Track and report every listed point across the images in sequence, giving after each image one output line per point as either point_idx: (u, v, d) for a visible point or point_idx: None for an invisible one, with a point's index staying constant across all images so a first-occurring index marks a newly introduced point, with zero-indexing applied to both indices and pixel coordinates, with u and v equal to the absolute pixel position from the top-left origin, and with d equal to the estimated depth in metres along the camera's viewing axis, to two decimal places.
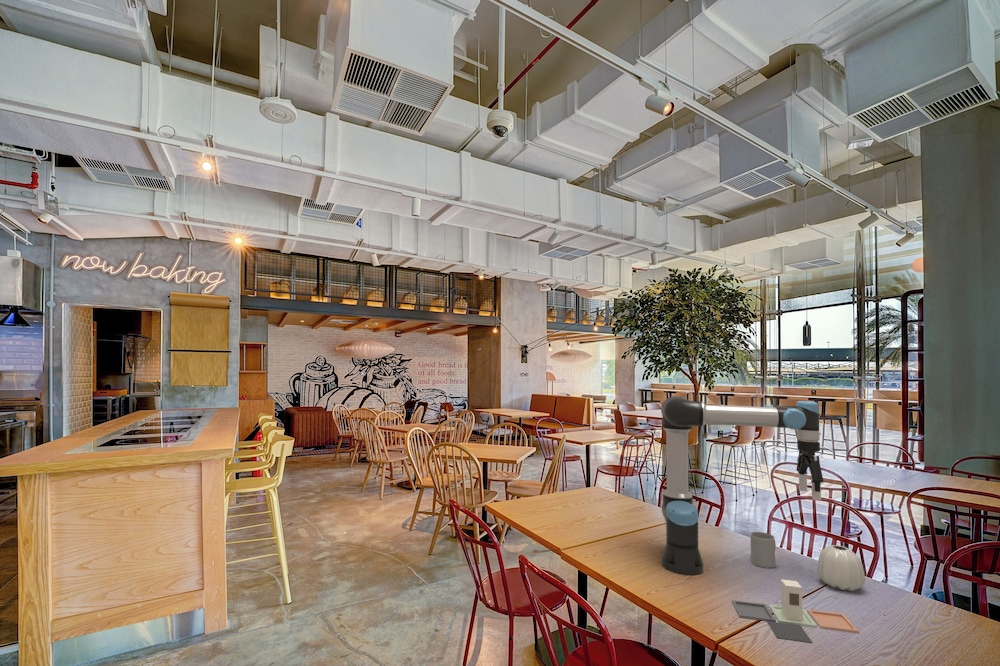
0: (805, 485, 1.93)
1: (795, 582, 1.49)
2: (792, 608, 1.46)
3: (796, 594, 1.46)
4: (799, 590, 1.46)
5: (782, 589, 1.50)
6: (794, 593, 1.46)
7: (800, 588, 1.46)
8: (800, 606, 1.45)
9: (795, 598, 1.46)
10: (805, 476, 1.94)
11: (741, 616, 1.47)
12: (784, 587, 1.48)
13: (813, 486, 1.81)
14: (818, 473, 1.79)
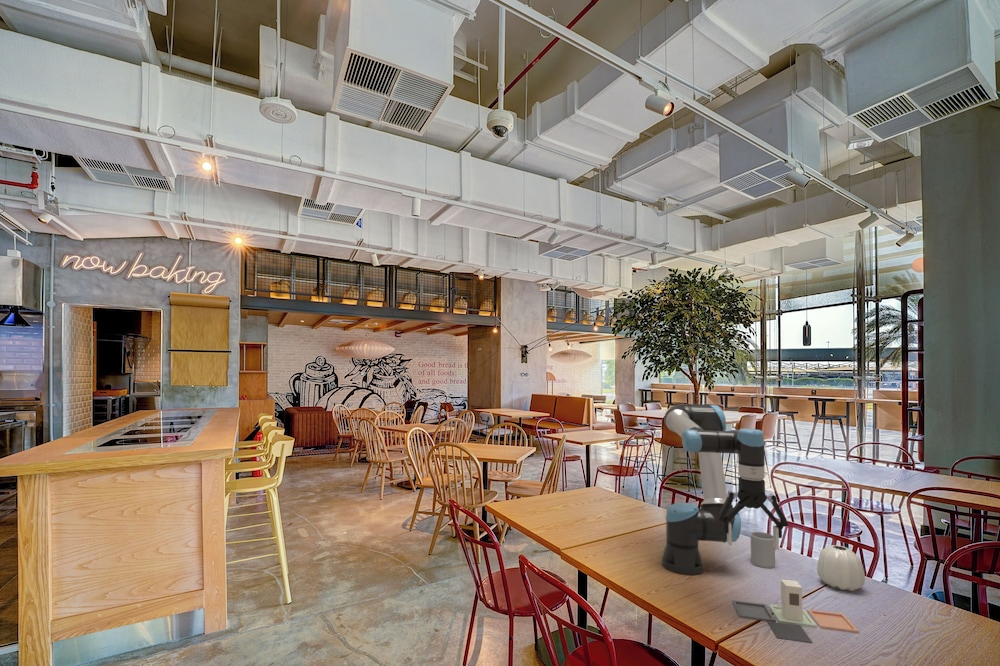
0: (775, 541, 1.50)
1: (795, 582, 1.49)
2: (792, 608, 1.46)
3: (796, 594, 1.46)
4: (799, 590, 1.46)
5: (782, 589, 1.50)
6: (794, 593, 1.46)
7: (800, 588, 1.46)
8: (800, 606, 1.45)
9: (795, 598, 1.46)
10: (775, 529, 1.50)
11: (741, 616, 1.47)
12: (784, 587, 1.48)
13: None
14: (721, 510, 1.54)
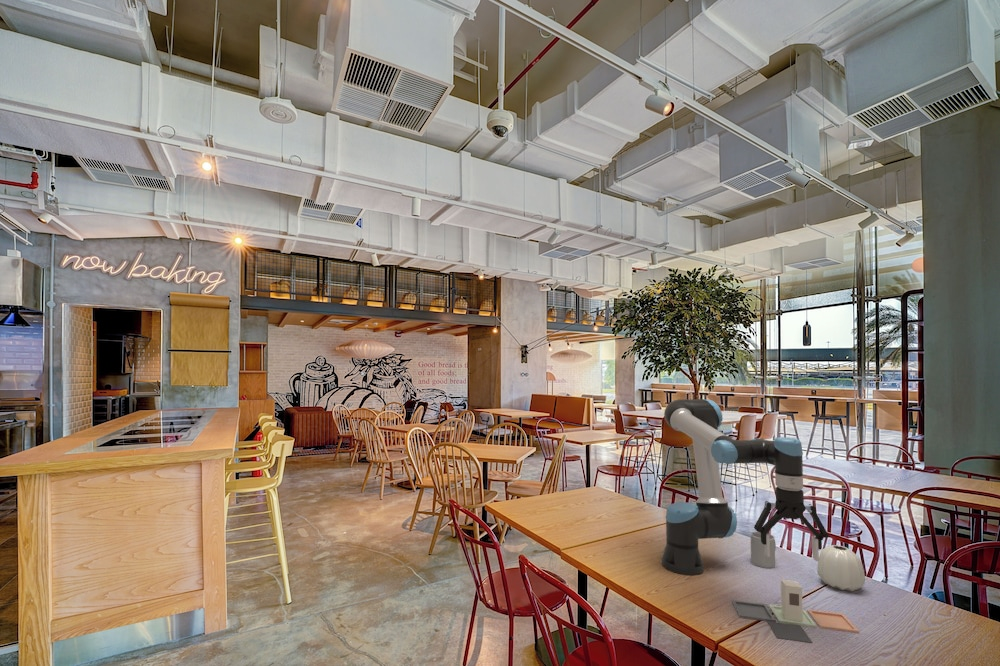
0: (815, 552, 1.47)
1: (795, 582, 1.49)
2: (792, 608, 1.46)
3: (796, 594, 1.46)
4: (799, 590, 1.46)
5: (782, 589, 1.50)
6: (794, 593, 1.46)
7: (800, 588, 1.46)
8: (800, 606, 1.45)
9: (795, 598, 1.46)
10: (814, 541, 1.47)
11: (741, 616, 1.47)
12: (784, 587, 1.48)
13: None
14: (759, 521, 1.51)
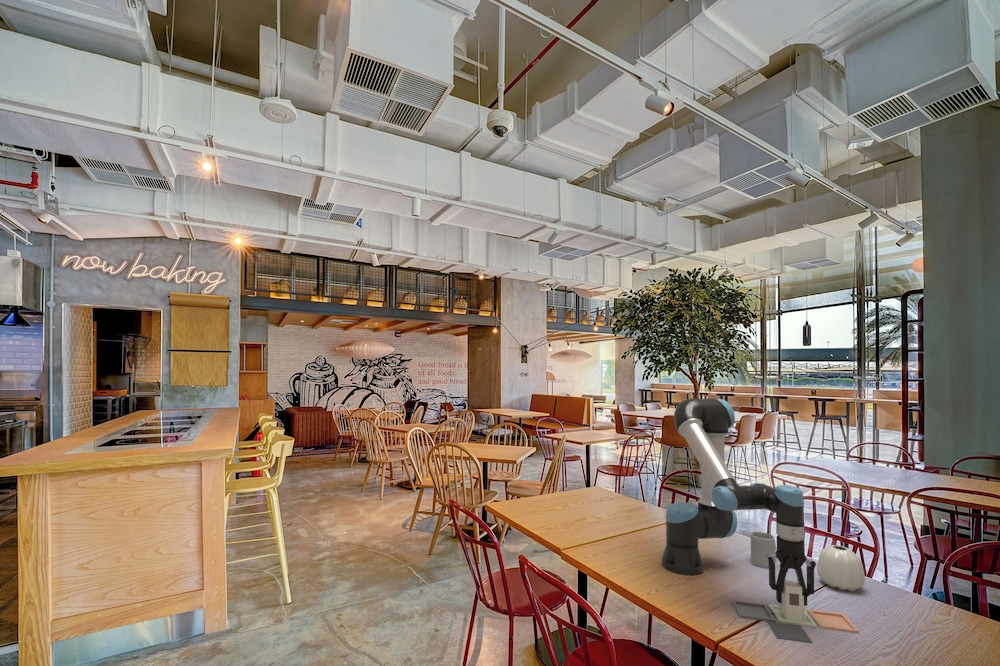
0: None
1: (795, 582, 1.49)
2: (792, 608, 1.46)
3: (796, 594, 1.46)
4: (799, 590, 1.46)
5: None
6: (794, 593, 1.46)
7: (800, 588, 1.46)
8: (800, 606, 1.45)
9: (795, 598, 1.46)
10: None
11: (741, 616, 1.47)
12: (784, 587, 1.48)
13: None
14: (770, 578, 1.50)
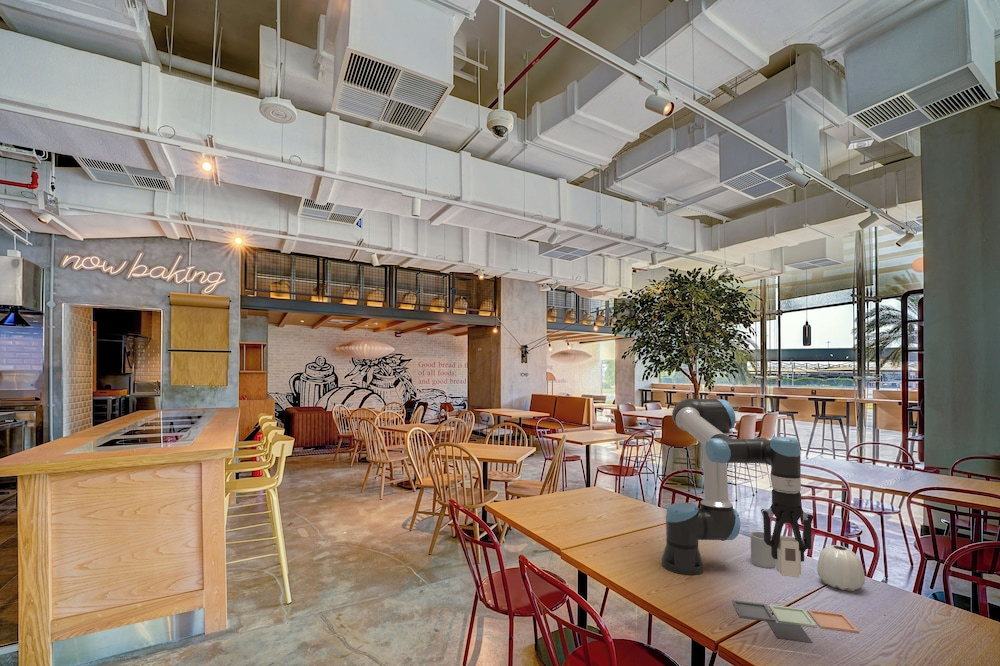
0: None
1: (791, 537, 1.41)
2: (788, 564, 1.38)
3: (792, 549, 1.38)
4: (795, 545, 1.38)
5: (778, 545, 1.42)
6: (791, 548, 1.38)
7: (797, 543, 1.38)
8: (797, 561, 1.38)
9: (791, 553, 1.38)
10: None
11: (741, 616, 1.47)
12: (779, 542, 1.40)
13: None
14: (765, 533, 1.42)
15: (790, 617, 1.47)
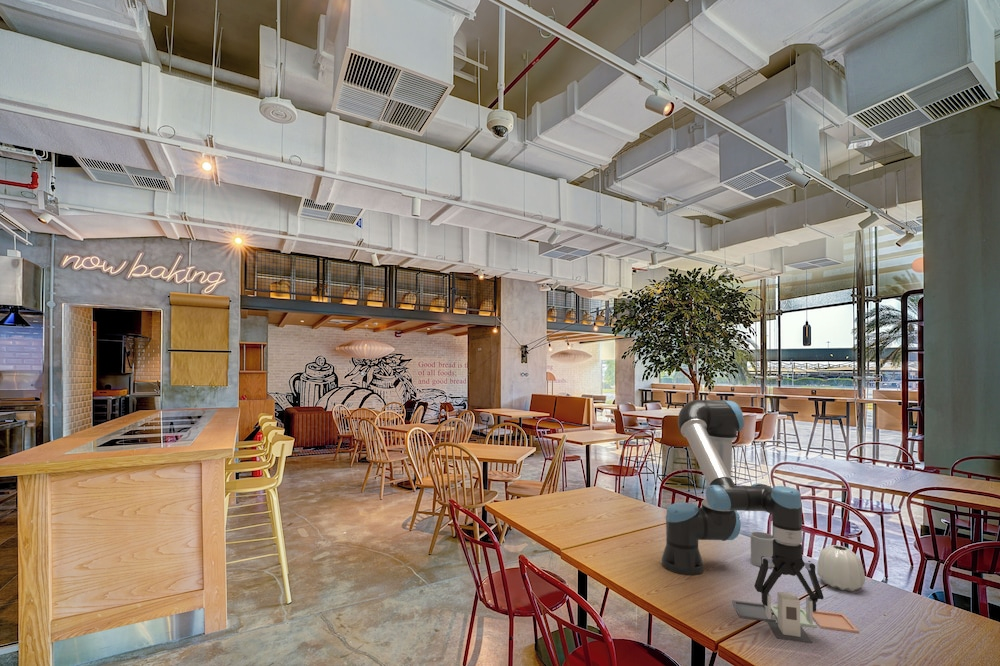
0: (809, 615, 1.37)
1: (792, 594, 1.40)
2: (789, 623, 1.37)
3: (793, 608, 1.37)
4: (797, 604, 1.37)
5: (779, 602, 1.41)
6: (792, 607, 1.37)
7: (798, 601, 1.37)
8: (798, 620, 1.37)
9: (792, 612, 1.37)
10: (808, 602, 1.38)
11: (741, 616, 1.47)
12: (780, 600, 1.39)
13: None
14: (758, 579, 1.42)
15: None
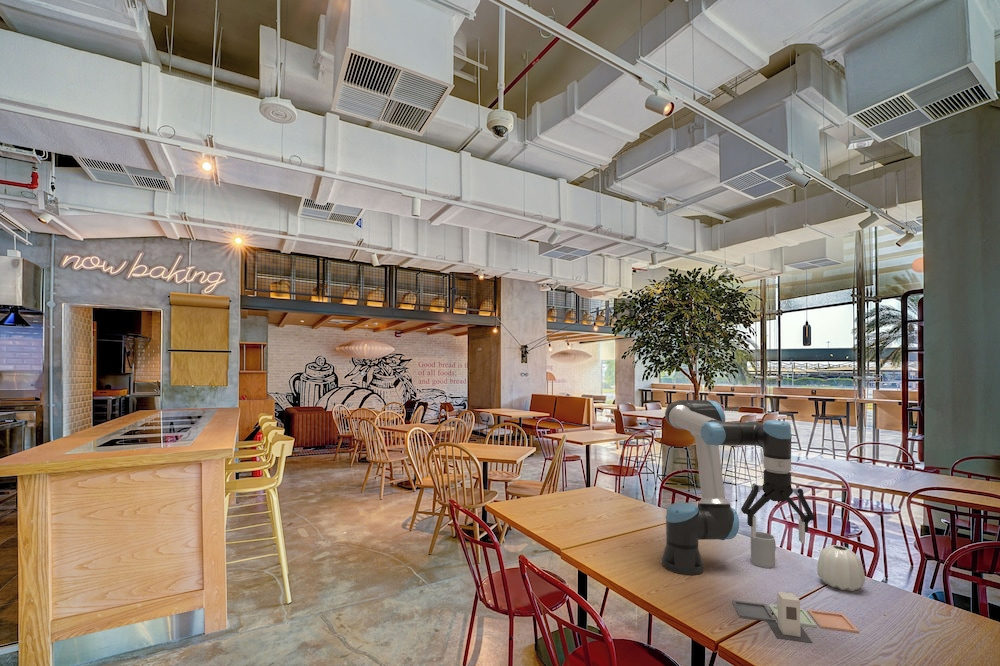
0: (801, 535, 1.46)
1: (792, 594, 1.40)
2: (789, 623, 1.37)
3: (793, 608, 1.37)
4: (797, 604, 1.37)
5: (779, 602, 1.41)
6: (792, 607, 1.37)
7: (798, 601, 1.37)
8: (798, 620, 1.37)
9: (792, 612, 1.37)
10: (801, 523, 1.46)
11: (741, 616, 1.47)
12: (780, 600, 1.39)
13: None
14: (745, 503, 1.51)
15: None
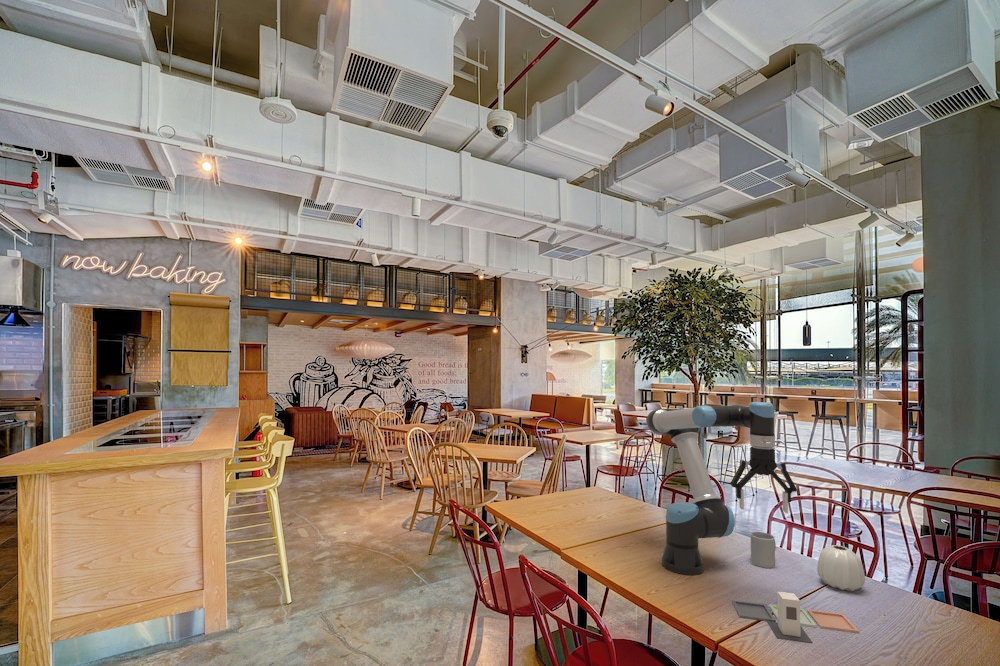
0: (784, 505, 1.61)
1: (792, 594, 1.40)
2: (789, 623, 1.37)
3: (793, 608, 1.37)
4: (797, 604, 1.37)
5: (779, 602, 1.41)
6: (792, 607, 1.37)
7: (798, 601, 1.37)
8: (798, 620, 1.37)
9: (792, 612, 1.37)
10: (784, 494, 1.61)
11: (741, 616, 1.47)
12: (780, 600, 1.39)
13: None
14: (734, 477, 1.66)
15: None
